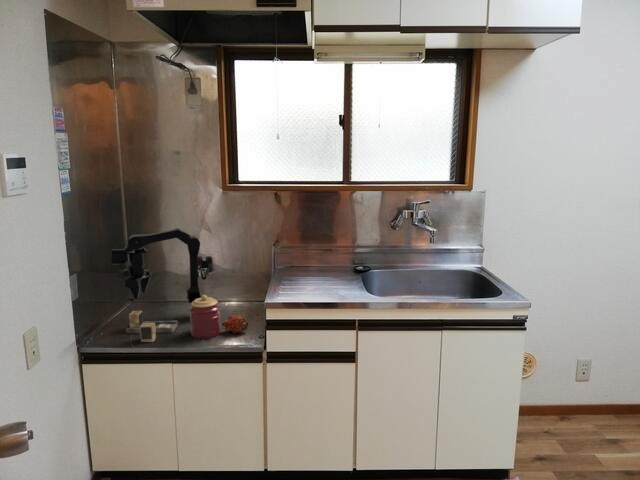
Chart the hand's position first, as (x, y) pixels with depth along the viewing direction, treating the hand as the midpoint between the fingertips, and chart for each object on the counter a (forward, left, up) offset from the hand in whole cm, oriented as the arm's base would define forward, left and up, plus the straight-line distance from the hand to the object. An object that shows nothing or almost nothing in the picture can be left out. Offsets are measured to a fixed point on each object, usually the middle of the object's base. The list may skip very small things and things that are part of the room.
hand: (140, 295), depth 208 cm
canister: (-32, +13, -14) cm, 37 cm away
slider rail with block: (-7, +7, -14) cm, 17 cm away
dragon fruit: (-45, +13, -14) cm, 49 cm away
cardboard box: (-9, +19, -14) cm, 25 cm away
